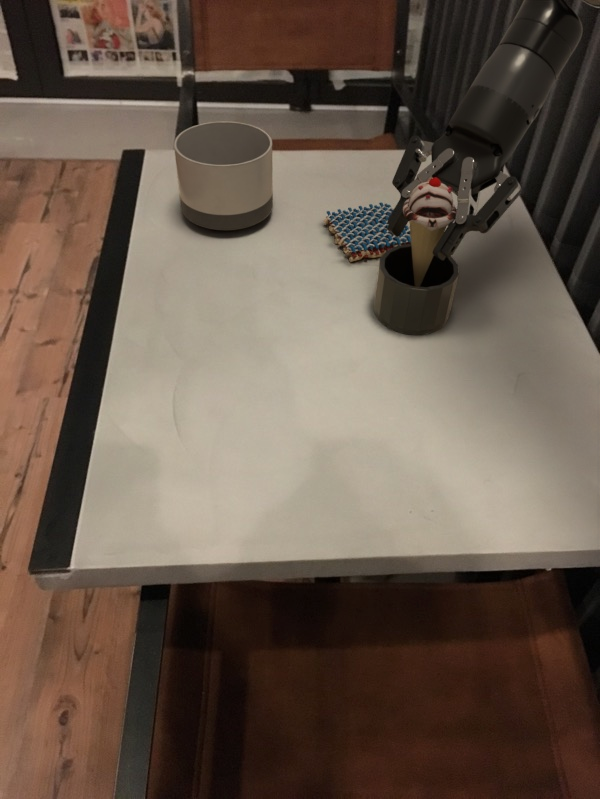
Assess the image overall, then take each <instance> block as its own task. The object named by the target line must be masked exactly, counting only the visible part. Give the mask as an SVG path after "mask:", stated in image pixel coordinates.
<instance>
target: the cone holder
mask: <svg viewBox="0 0 600 799" xmlns="http://www.w3.org/2000/svg"><path fill="white" fill-rule="evenodd" d="M459 276H460V269H459V264H458V263H457V262H456V260H455V259H454V257H453V256H452V255H451V256H450V257H447V256H446V258H445V259H444V260H440V259H438V258H437V257H436V256H435V255H434V256H433V258H432V261H431V263H430V265H429V267H428V270H427V272H426V274H425V276H424V279H423V281H422V283H421V285H420V287H419V286H415V283H414V271H413V259H412V247H411V244H406V245H399V246H395V247H393V248H391V249H389V250H387V251H386V252H385V253H384V254H383V255H382V256H381V257H379V262H378V269H377V278H376V284H375V285H376V286H375V292H374V302H373V312H374V314H375V316H376V318H377V320H378V321H379V322H380V323H381V324H383V326H385V327H386V328H388V329H390V330H392V331H395V332H397V333H400V334H403V335H404V334H405V335H411V336H422V335H429V334H431V333H435V332H436V331H439V330H440V329H442V328H443V327H444V326H445V325H446V323H447V322H448V320H449V317H450V315H451V310H452V306H453V302H454V297H455V294H456V289H457V284H458V280H459Z"/></svg>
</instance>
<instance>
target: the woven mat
mask: <svg viewBox="0 0 600 799" xmlns="http://www.w3.org/2000/svg"><path fill="white" fill-rule="evenodd" d="M378 204H379V205H376V204H374V206H373V204H372V203H369V204H368V206H369V207H367V206H364V207H363V206H362V205H358V209H357V208H353V209H352V207H347V211H346V209H344V210H341V209H340V208H339V209H337V212H335V211H332V212H331V211H330V210H326V214H327V216H326V217H325V219H324V220H323V222H324V224H326V225H329V226H328V231H329V232H331V233H332V234H334V244H335V245H337V244H338V245H339V246H340V247H343V249H342V250H343V253H345V255H346V256H348V257H349V259H348V260H349V263H352V262H355V261H361V260H362V259H363V258H370V259H374V258H381V257H382V255H383V254H384V253H385V252H386V251H387V250H389V249H391V248H393V247H395V246H399V245H406V244H411V235H410V226H409V225H408V224H407V225H406V226H405V228H404V230H403V231H402V233H401V234H400V236H398V237H397V236H395V235H393V234H392V233H390V232H389V231H388V224H387V222H388V218H389V216H390V215H391V213H392V212H393V210H394V208H395V207H393V206H392V205H391V204H388V203H383V202H379V203H378Z"/></svg>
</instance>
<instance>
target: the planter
mask: <svg viewBox="0 0 600 799" xmlns="http://www.w3.org/2000/svg"><path fill="white" fill-rule="evenodd" d="M173 150H174V159H175V168H176V176H177V186H178V194H179V202H180V203H179V204H180V210H181V213H182V215H183V216H184V217H185V218H186V220H188V221H189V222H191V223H192V224H194V225H196V226H199V227H201V228H205V229H210V230H216V231H236V230H237V231H238V230H242V229H248V228H249V227H253V226H255V225H257V224H260V223H261V222H263V221H265V219H267V217H269V216H270V214H271V213H272V210H273V207H274V191H273V189H274V188H273V187H274V185H273V184H274V179H273V178H274V175H273V174H274V173H273V172H274V171H273V170H274V168H273V164H274V162H273V159H274V158H273V153H274V152H273V139H272V137H271V136H270V134H269V133H268V132H267V131H265V130H264V129H262V128H260V127H259V126H256V125H253V124H249V123H245V122H239V121H230V120H224V121H222V120H221V121H219V120H218V121H209V122H204V123H203V122H202V123H200V124H199V123H198V124H197V125H193V126H190V127H188V128H186V129H184V130H183V131H181V132H180V133H179V134H178V135H177V136H176V137H175V138H174V142H173Z"/></svg>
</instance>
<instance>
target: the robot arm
mask: <svg viewBox="0 0 600 799" xmlns="http://www.w3.org/2000/svg"><path fill="white" fill-rule="evenodd" d="M581 1H582V2H583V3H585V4H587V5H588V6H590V7H592V8H595V9H598V10H599V9H600V0H581ZM583 30H584V29H583V24H582V21H581V19H580V17H579V15H578V14H577V13H576V12H575V11H574V9H573V8H572V7H571V6H570V5H569V4H568V3H567V2H566V1H565V0H522V3H521V5H520V8H519V9H518V11H517V13H516V14H515V16H514V18H513V20H512V22H511V24H510V25H509V27H508V28H507V30H506V32H505V33H504V34H503V37H502V38H501V40H500V41H499V43H498V45H497V46H496V48H495V50H494V51H493V53H492V54H491V55H490V56H489V58H488V59H487V60H486V61H485V63H483V65H482V66H481V69H480V70H479V71H478V73H477V75H476V77H475V78H474V80H473V81H472V83H471V85H470V87H469V88H468V90H467V91H466V93H465V95H464V97H463V98H462V100H461V102H460V103H459V105H458V107H457V108H456V110H455V111H454V113H453V114H452V116H451V118H450V120H448V123H447V126H446V128H445V131H444V133H443V134H442V135H441V136H440V137H439V138H438V139H436V140H435V141H434V142H432V141H427V140H422V139H421V137H420V136H419V135H418V134H414V135H412V136H410V138H409V141H408V143H407V145H406V147H405V150H404V152H403V155H402V157H401V160H400V162H399V164H398V166H397V169H396V172H395V173H394V176H393V178H392V181H391V184H392V185H393V187H394V188H395V189H396V190H397V192H399V194H400V195H399V196H400V197H399V200H398V201H397V203H396V205H395V206H394V207H393V208H394V210H393V209H392V210H393V212H392V213H391V215H390V216H389V218H388V222H387V224H388V231H389V232H390V233H392V234H393V235H395V236H397V237H398V236H400V234H401V233H402V231H403V230H404V228H405V226H406V225H407V226H408V224H409V221H407V220H406V218H405V216H404V214H403V205H404V203H405V201H406V200H408V199H409V198H410V195H411V193H412V191H413V190H414V189H415V187H416V186H418V185H419V184H420V183H422V182H425V181H427V180H430V179H432V178H434V177H437V178H438V179H439V180H440V181H441V182H442V183H443V184H445V185H446V186H447V187H451V188H452V191H451V193H452V194H454V195H455V196H456V197H457V199H456V200H457V206H456V217H455V220H454V222H450V224H449V225H448V226H447V227H446V229H445V231H444V233H443V235H442V237H441V238H440V240H439V241H438V243H437V245H436V246H435V248H434V250H433V254H434V255H435V256H436V257H437V258H438V259H440V260H444V259H445V258H446V256H447V257H450V256H451V257H452V256H453V255H454V253H455V252H456V250H457V249H458V248H459V245H460V244H461V242H462V241H463V239H464V238H465V236H466V235H467V233H469V232H479V233H480V234H487V233H488V232H489V231H490V230H491V229H492V228H493V227H494V226H495V224H497V222H498V221H499V219H501V217H503V215H504V214H505V213H506V212H507V210H508V209H509V208H510V207H511V206H512V204H514V202H515V201H516V200H517V199H518V198H519V196H521V194H522V192H523V190H522V187H521V184H520V182H519V181H518V179H517V178H516V177H515V176H513V175H510V176H509V175H508V174H506V173H504V169H505V165H506V163H507V162H508V161H509V160H510V158H511V157H512V155H513V154H514V152H515V151H516V149H517V147H518V146H519V145H520V143H521V141H522V139H523V138H524V136H525V135H526V133H527V132H528V130H529V128H530V127H531V125H532V123H533V122H534V121H535V120H536V119H537V117H539V116H538V115H539V114H540V111H541V109H542V107H543V106H544V104H545V103H546V101H547V99H548V96H549V94H550V92H551V90H552V88H553V86H554V84H555V82H556V81H557V79H558V77H559V76H560V75H561V73H562V71H563V69H564V68H565V66H566V65H567V63H568V61H569V59H570V58H571V57H572V55H573V53H574V52H575V50H576V49H577V47H578V46H579V43H580V42H581V39H582V36H583ZM430 156H431V162H430V164H427V166H426V167H425V168H424V169H422V170H421V171H420V172H419V170H420V167H421V166H422V163H426V161H427V159H428V158H429V157H430ZM493 185H495V186H494V188H493V193H492V195H491V196H490V197H489V198H488V199H487V200H486V202H485V203H484V204H483V205H482V206H481V208H480V209H479V210H478V208H479V201H480V195H481V192H482V191H484V190H485V189H487V188H490V187H491V186H493Z"/></svg>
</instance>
